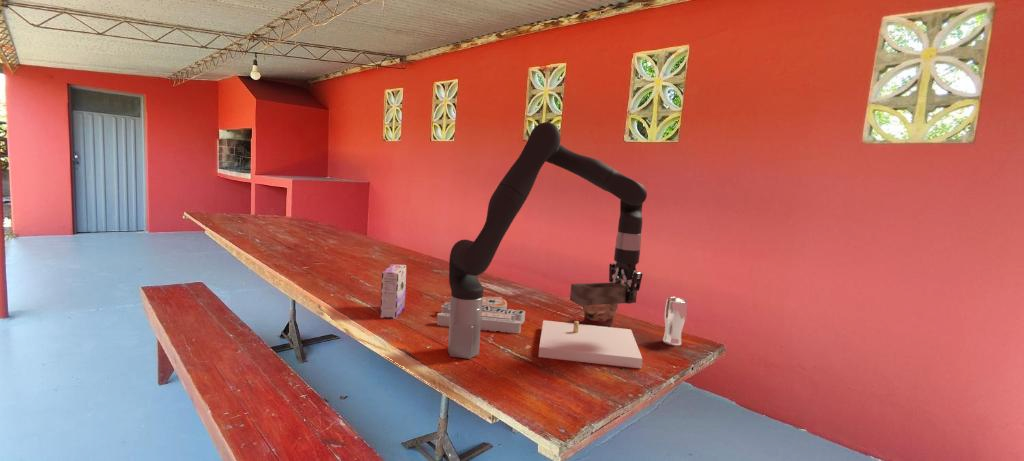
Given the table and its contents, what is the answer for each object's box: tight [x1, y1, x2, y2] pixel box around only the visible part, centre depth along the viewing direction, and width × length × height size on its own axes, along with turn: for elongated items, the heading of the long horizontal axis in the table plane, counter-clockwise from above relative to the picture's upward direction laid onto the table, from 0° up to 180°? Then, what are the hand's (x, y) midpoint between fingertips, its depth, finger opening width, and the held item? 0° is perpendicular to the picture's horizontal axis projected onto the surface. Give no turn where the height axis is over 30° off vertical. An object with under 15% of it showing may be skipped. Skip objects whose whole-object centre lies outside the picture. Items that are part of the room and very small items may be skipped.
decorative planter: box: [581, 304, 619, 327], centre depth 180 cm, size 20×12×14 cm, turn 148°
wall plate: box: [538, 320, 643, 369], centre depth 157 cm, size 26×30×6 cm
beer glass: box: [662, 296, 688, 347], centre depth 166 cm, size 7×7×15 cm
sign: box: [436, 296, 526, 335], centre depth 181 cm, size 30×4×30 cm
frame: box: [569, 281, 638, 307], centre depth 151 cm, size 20×6×5 cm, turn 114°
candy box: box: [379, 263, 407, 320], centre depth 176 cm, size 14×6×16 cm, turn 0°
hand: (621, 300), depth 154 cm, fingers closed on frame, 6 cm apart
